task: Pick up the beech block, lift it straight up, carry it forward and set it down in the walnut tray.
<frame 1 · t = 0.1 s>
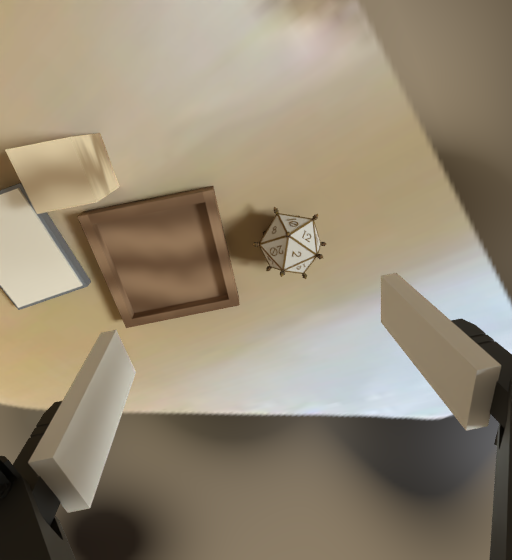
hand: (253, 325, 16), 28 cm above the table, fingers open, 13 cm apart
beech block: (84, 165, 38), on the table
game die: (284, 233, 44), on the table
white grey flat slab: (25, 248, 41), on the table
walnut tray: (168, 257, 43), on the table
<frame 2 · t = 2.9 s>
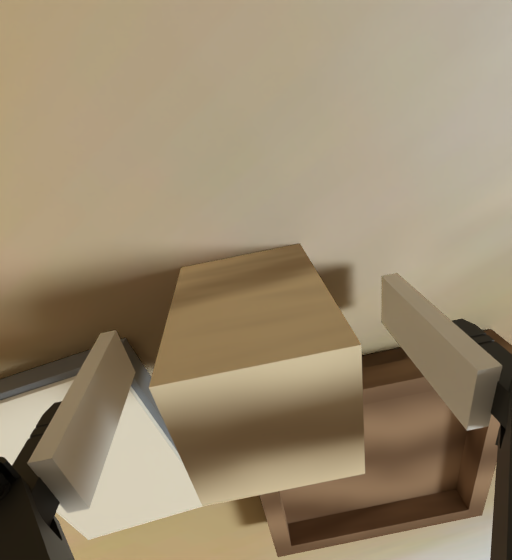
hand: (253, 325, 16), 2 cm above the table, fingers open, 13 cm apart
beech block: (251, 305, 17), on the table
white grey flat slab: (107, 442, 21), on the table
walnut tray: (365, 440, 23), on the table
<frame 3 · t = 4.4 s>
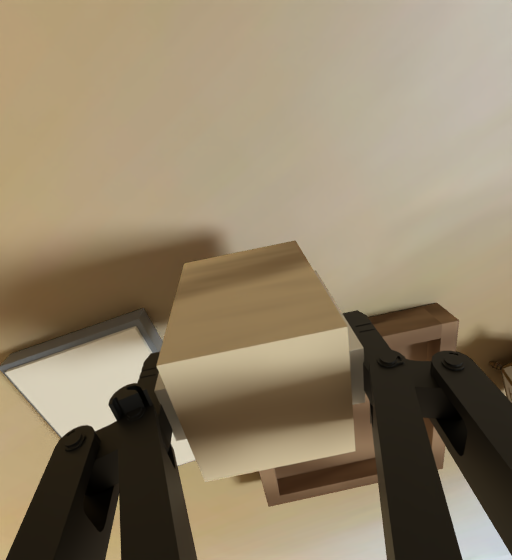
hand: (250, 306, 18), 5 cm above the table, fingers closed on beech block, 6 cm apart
beech block: (250, 300, 18), point 4 cm above the table, touching gripper
white grey flat slab: (125, 400, 25), on the table
walnut tray: (340, 401, 28), on the table
when the fingers open (2 cm above the table, at t = 8.1 s): beech block stays where it is, resting on walnut tray.
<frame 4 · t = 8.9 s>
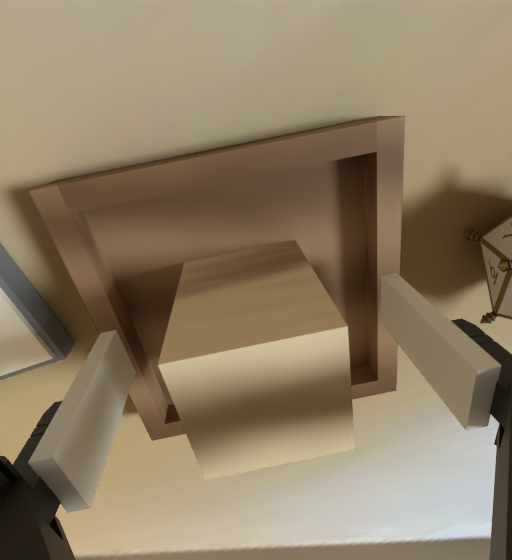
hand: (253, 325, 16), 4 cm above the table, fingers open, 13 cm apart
beech block: (250, 299, 19), point 1 cm above the table, touching walnut tray
game die: (506, 235, 20), on the table
walnut tray: (248, 289, 19), on the table
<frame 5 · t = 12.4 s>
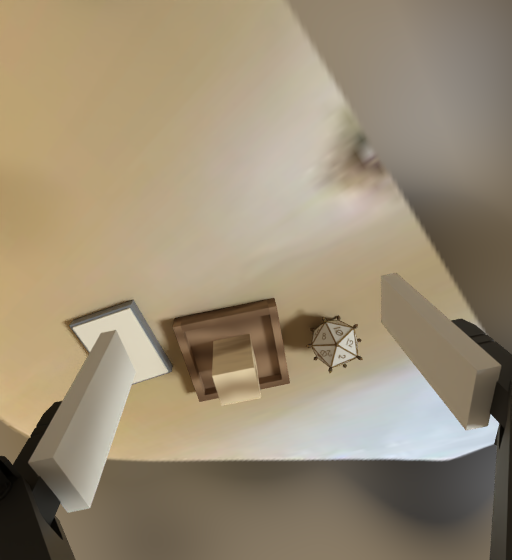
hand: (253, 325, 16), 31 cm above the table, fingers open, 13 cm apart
beech block: (235, 351, 54), point 1 cm above the table, touching walnut tray
game die: (327, 327, 55), on the table
white grey flat slab: (125, 344, 52), on the table
walnut tray: (234, 347, 55), on the table
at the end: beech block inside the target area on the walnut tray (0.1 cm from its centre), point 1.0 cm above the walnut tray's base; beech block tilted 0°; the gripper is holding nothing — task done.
